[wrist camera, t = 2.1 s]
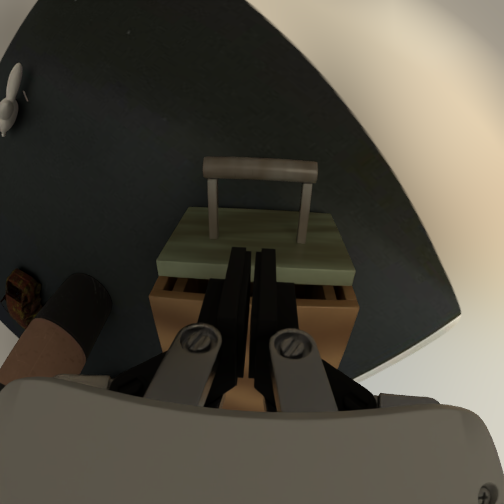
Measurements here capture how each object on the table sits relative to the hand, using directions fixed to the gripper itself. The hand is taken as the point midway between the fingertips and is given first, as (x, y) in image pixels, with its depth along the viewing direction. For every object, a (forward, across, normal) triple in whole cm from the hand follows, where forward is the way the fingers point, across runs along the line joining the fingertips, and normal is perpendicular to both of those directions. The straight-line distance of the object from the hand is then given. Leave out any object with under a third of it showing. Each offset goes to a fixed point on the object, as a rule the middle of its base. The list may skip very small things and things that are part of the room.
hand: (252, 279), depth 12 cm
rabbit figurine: (+15, +25, -10) cm, 31 cm away
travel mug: (+15, +21, +15) cm, 30 cm away
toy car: (+15, +34, +17) cm, 41 cm away
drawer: (+14, 0, +7) cm, 16 cm away
